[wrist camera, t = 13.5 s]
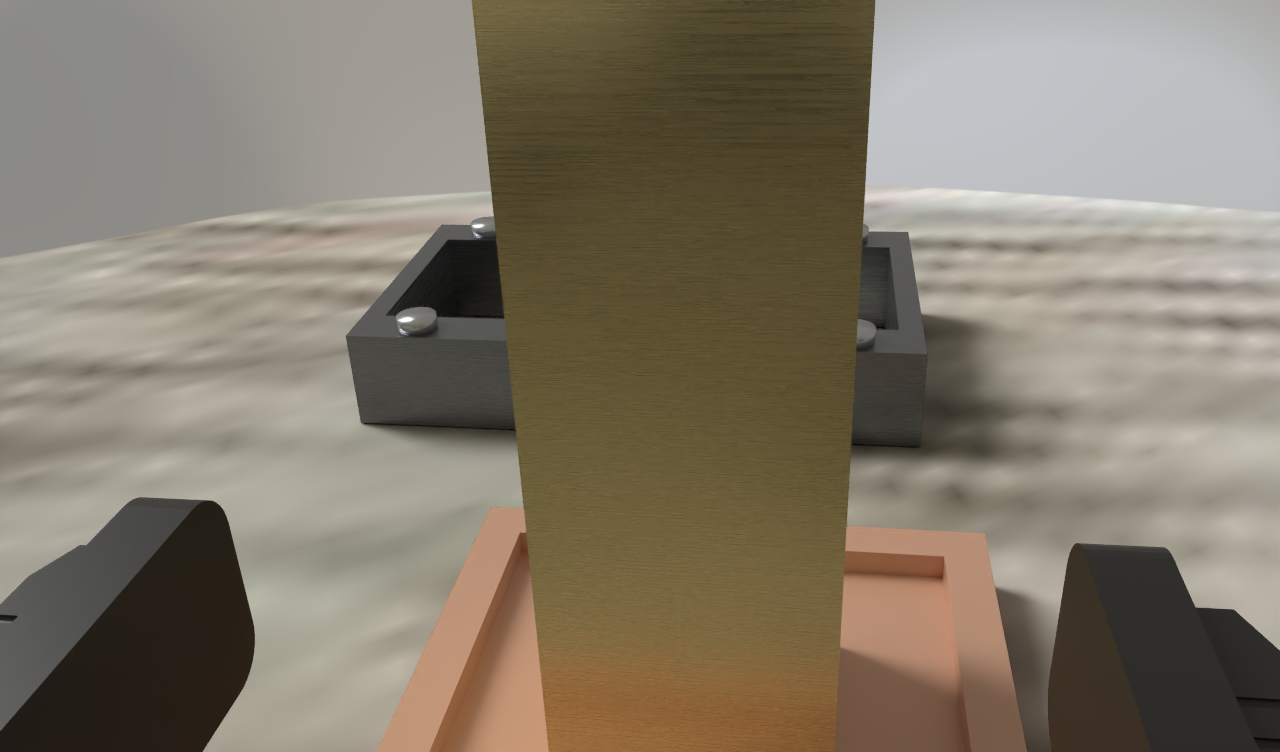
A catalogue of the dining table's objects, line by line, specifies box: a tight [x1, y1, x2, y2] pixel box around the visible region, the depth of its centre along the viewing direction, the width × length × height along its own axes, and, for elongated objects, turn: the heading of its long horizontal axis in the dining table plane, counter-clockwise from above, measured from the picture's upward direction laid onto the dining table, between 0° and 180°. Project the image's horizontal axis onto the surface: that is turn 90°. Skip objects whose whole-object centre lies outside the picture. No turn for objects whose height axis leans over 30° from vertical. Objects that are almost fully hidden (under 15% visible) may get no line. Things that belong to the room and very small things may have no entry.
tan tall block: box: [472, 0, 875, 752], centre depth 19 cm, size 5×5×17 cm
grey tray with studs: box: [346, 217, 927, 447], centre depth 38 cm, size 17×10×3 cm, turn 81°
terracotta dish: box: [377, 507, 1027, 752], centre depth 23 cm, size 12×12×1 cm
